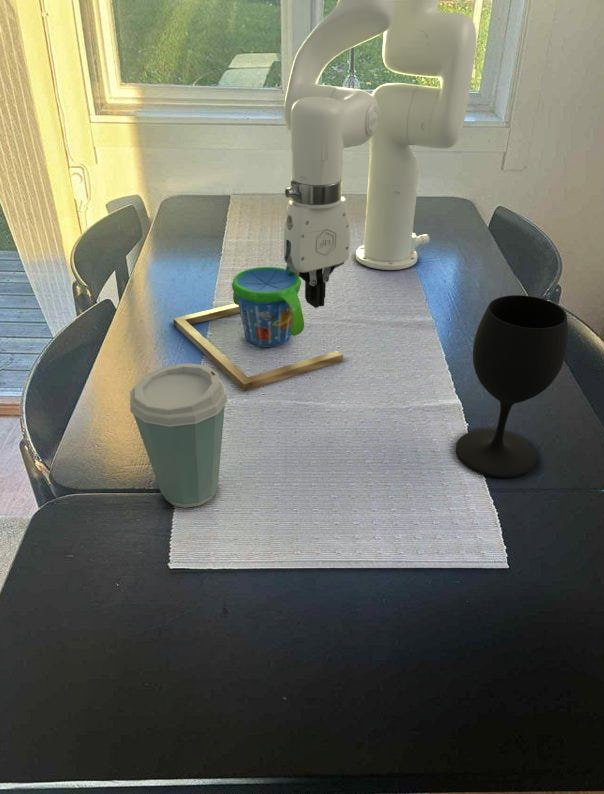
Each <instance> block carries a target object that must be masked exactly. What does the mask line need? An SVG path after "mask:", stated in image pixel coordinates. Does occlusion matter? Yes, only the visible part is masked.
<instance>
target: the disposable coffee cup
mask: <svg viewBox="0 0 604 794" xmlns="http://www.w3.org/2000/svg"><path fill="white" fill-rule="evenodd" d="M129 392H130V393H129V394H130V395H129V396H130V397H129V406H130V407H129V408H130V413H132V415H133V417H134V420H135V423H136V426H137V429H138V431H139V434H140V437H141V440H142V442H143V446H144V449H145V451H146V454H147V457H148V459H149V463H150V465H151V468H152V471H153V474H154V476H155V477H154V478H155V480H156V482H157V485H158V488H159V491H160V494H161V495H162V496H163V497H164V499H165V500H166V501H167V502H168V503H169V504H170V505H172V506H176V507H180V508H184V509H185V508H186V509H187V508H193V507H200V506H202V505H203V504H205V503H208V502H209V501H211V500H212V498H213V497H214V495H216V493H217V489H218V488H219V479H220V468H221V467H220V466H221V455H222V444H223V443H222V442H223V431H224V430H223V429H224V419H225V410H226V409H225V408H226V405H227V403H228V402H229V400H228V396H227V392H226V389H225V385H224V382H222V380H221V379H220V375H219V374H218V372H217V371H216V370H214V369H213V368H211V367H209V366H207V365H206V364H201V363H190V362H189V363H187V362H182V363H178V364H172V365H167V366H162V367H160V368H158V369H157V370H154V371H151V372H149V373H147V374H144V376H143V377H142V378H141V379H140V380H139V381H138V382H137V383H136V384H135V385H134V386H133V388H132V389H131V390H130V391H129Z"/></svg>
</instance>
